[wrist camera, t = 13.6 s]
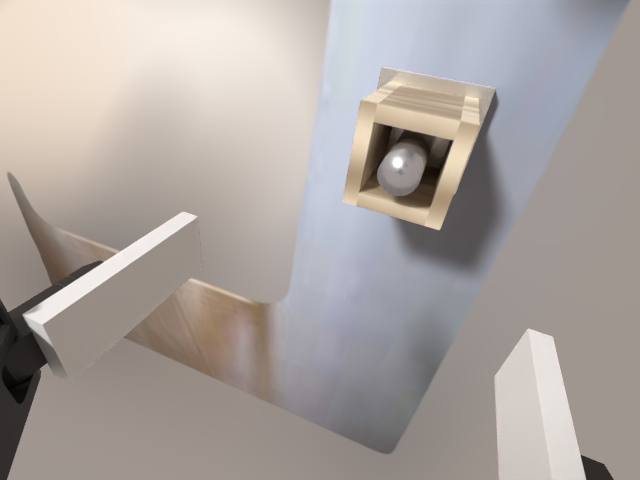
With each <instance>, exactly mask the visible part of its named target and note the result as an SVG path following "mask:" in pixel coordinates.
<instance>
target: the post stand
mask: <svg viewBox="0 0 640 480" xmlns="http://www.w3.org/2000/svg"><path fill="white" fill-rule="evenodd" d="M388 82H394V83H399V84H404V85H409V86H414V87H419V88H424V89H429V90H434V91H440V92H445V93H450V94H455V95H460V96H465V97H470V98H475V99H479V129H478V132H477V134H476V137H475V140H474V142H473V145H472V148H471V150H470V153H469V155H468V158H467V161H466V163H465V166H464V168H463V171H462V174H461V176H460V179H459V182H458V184H457V187H456V189H455V192H454V194H456V191H457V189H458V186H459V183H460V181H461V178H462V176H463V173H464V170H465V168H466V165H467V163H468V160H469V157H470V155H471V152H472V150H473V147H474V145H475V142H476V139H477V137H478V134H479V132H480V129H481V126H482V124H483V121H484V119H485V116H486V113H487V111H488V108H489V106H490V103H491V100H492V98H493V95H494V93H495V90H496V89H495V87H493V86H488V85H483V84H477V83H472V82H467V81H461V80H456V79H451V78H446V77H440V76H435V75H430V74H424V73H419V72H414V71H408V70H403V69H398V68H393V67H387V66H384V67H382V68H381V72H380V77H379V82H378V87H377V90H378V89H379V88H381V87H382V86H384V85H385V84H387V83H388ZM449 142H450V140H449V139H445V138H441V137H436V136H432V135H428V134H423V133H419V132H415V131H410V130H406V129H402V128H397V127H393V126H392V130H391V134H390V138H389V142H388V146H387V150H386V155H387V156H386V157H385V158H384V160H383V161H382V163H381V164H380V166H379V168H378V172H377V179H378V182H379V184H380V186H381V187H382V189H383V190H384V191H386V192H387V193H389V194H391V195H395V196H404V195H407V194H410V193H411V192H413V191H414V190H415V189H416V188H417V186H418V185H419V182H420V179H421V177H422V174H423V171H424V169H425V166H426V165H427V166H431V167H435V168H439V169H440V168H441V165H442V162H443V160H444V157H445V154H446V151H447V148H448V145H449Z"/></svg>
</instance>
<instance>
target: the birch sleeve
mask: <svg viewBox="0 0 640 480" xmlns="http://www.w3.org/2000/svg"><path fill="white" fill-rule="evenodd" d="M392 126H393V127H397V128H402V129H406V130H410V131H415V132H419V133H423V134H428V135H432V136H436V137H441V138H445V139H449V140H450V142H449V145H448V148H447V151H446V154H445V157H444V160H443V162H442V165H441V168H440V169H439V168H435V167H431V166H427V165H426V166H425V169H424V171H423V174H422V177H421V179H420V182H419V185H418V186H417V188H416V189H415V190H414V191H413V192H411V193H410V194H407V195H404V196H395V195H391V194H389V193H387V192H386V191H384V190H383V189H382V187H381V186H380V184H379V182H378V179H377V172H378V168H379V166H380V164H381V163H382V161H383V160H384V158H385V157H386V156H387V155H386V150H387V146H388V142H389V138H390V134H391V130H392ZM478 129H479V99H475V98H470V97H465V96H460V95H455V94H450V93H445V92H440V91H434V90H429V89H424V88H419V87H414V86H409V85H404V84H399V83H394V82H388V83H387V84H385V85H384V86H382V87H381V88H379V89H378V90H376V91H375V92H373V93H372V94H370V95H369V96H367V97H366V98H364V99H363V100H361V101H360V107H359V112H358V118H357V123H356V129H355V134H354V140H353V145H352V151H351V156H350V162H349V168H348V173H347V179H346V184H345V190H344V195H343V201H342V202H344V203H348V204H351V205H355V206H358V207H361V208H365V209H368V210H372V211H375V212H379V213H382V214H385V215H389V216H392V217H396V218H399V219H402V220H406V221H409V222H413V223H416V224H420V225H423V226H426V227H430V228H433V229H437V230H440V229H441V226H442V223H443V221H444V218H445V216H446V213H447V210H448V208H449V205H450V202H451V200H452V197H453V195H454V192H455V189H456V187H457V184H458V182H459V179H460V176H461V174H462V171H463V168H464V166H465V163H466V161H467V158H468V155H469V153H470V150H471V148H472V145H473V142H474V140H475V137H476V134H477V132H478Z"/></svg>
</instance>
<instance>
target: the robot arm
mask: <svg viewBox="0 0 640 480" xmlns="http://www.w3.org/2000/svg"><path fill="white" fill-rule="evenodd" d="M202 267H203V265H202V254H201V243H200V232H199V222H198V216H195V215H192V214H189V213H186V212H181V213H180V214H179V215H177V216H175V217H174V218H172V219H171V220H169V221H167V222H166V223H164V224H163V225H161V226H160V227H158V228H157V229H155V230H153V231H152V232H150V233H149V234H147V235H146V236H144V237H143V238H141V239H139V240H138V241H136V242H135V243H133V244H132V245H130V246H129V247H127V248H125V249H124V250H122V251H121V252H119V253H118V254H116V255H114V256H113V257H111V258H110V259H108V260H107V261H105V262H102V261H97V262H94V263H91V264H89V265H86V266H83V267H81V268H80V269H78V270H77V271H75V272H73V273H72V274H70V275H69V277H65V278H64V279H62V280H60V281H59V282H57V284H56V285H55V284H54V285H52V286H51V287H49V288H47V289H46V290H44V291H43V292H41V293H39V294H38V295H36V296H34V297H33V298H31V299H30V300H28V301H26V302H25V303H23V304H22V305H20V306H18V307H17V308H15V309H13V310H12V311H10V312H7V310H6V308H5V307H4V305H3V303H2V301H1V300H0V480H7V477H8V474H9V471H10V468H11V465H12V462H13V459H14V456H15V453H16V450H17V447H18V444H19V441H20V438H21V435H22V432H23V429H24V425H25V423H26V420H27V417H28V413H29V411H30V407H31V405H32V402H33V399H34V395H35V392H36V389H37V386H38V383H39V380H40V377H41V370H40V368H41V367H42V366H44V365H45V364H46V363H48V365H49V366H50V368H51V370H52V372H53V374H55V375H57V376H59V377H61V378H62V379H64V380H66V381H68V382H70V383H72V382H73V381H74V380H75V379H77V378H78V377H79V376H80V375H81V374H82V373H83V372H85V371H86V370H87V369H88V368H89V367H90V366H91V365H92V364H94V363H95V362H96V361H97V360H98V359H99V358H100V357H101V356H102V355H104V354H105V353H106V352H107V351H108V350H109V349H110V348H112V347H113V346H114V345H115V344H116V343H117V342H118V341H119V340H121V339H122V338H123V337H124V336H125V335H126V334H127V333H129V332H130V331H131V330H132V329H133V328H134V327H135V326H136V325H138V324H139V323H140V322H141V321H142V320H143V319H144V318H145V317H147V316H148V315H149V314H150V313H151V312H152V311H153V310H154V309H156V308H157V307H158V306H159V305H160V304H161V303H162V302H163V301H165V300H166V299H167V298H168V297H169V296H170V295H171V294H173V293H174V292H175V291H176V290H177V289H178V288H179V287H180V286H182V285H183V284H184V283H185V282H186V281H187V280H188V279H189V278H191V277H192V276H193V275H194V274H195V273H196V272H197V271H198V270H200V269H201V268H202ZM495 398H496V399H495V400H496V424H497V447H498V467H499V468H498V470H499V480H613V478H612V476H611V475H610V473H609V472H608V470H607V468H606V467H605V465H604V464H602V463H600V462H597V461H595V460H592V459H590V458H587V457H585V456H582V455H580V451H579V447H578V443H577V439H576V434H575V430H574V426H573V421H572V417H571V413H570V408H569V404H568V400H567V396H566V391H565V387H564V383H563V378H562V375H561V370H560V366H559V361H558V357H557V353H556V349H555V345H554V341H553V337H552V336H549V335H546V334H543V333H540V332H537V331H534V330H531V329H527V331H526V332H525V334H524V335H523V337H522V338H521V339H520V341H519V342H518V344H517V345H516V347H515V348H514V349H513V351H512V352H511V354H510V355H509V357H508V358H507V360H506V361H505V362H504V364H503V365H502V367H501V368H500V370H499V371H498V373H497V374H496V376H495Z"/></svg>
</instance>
